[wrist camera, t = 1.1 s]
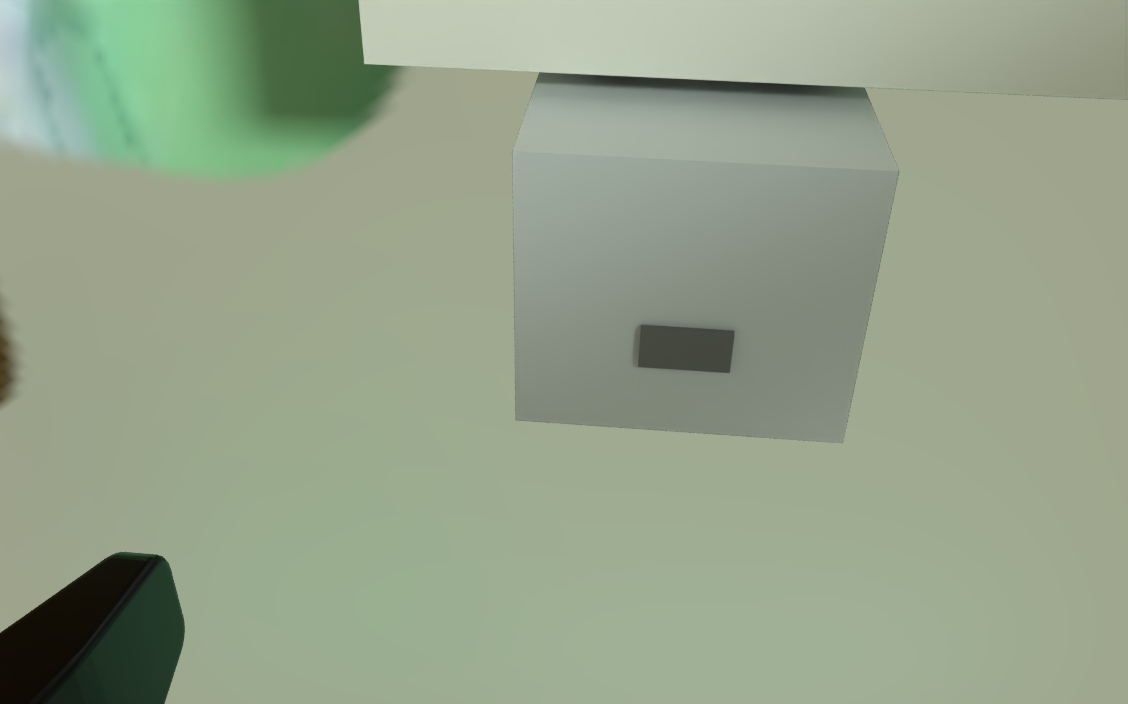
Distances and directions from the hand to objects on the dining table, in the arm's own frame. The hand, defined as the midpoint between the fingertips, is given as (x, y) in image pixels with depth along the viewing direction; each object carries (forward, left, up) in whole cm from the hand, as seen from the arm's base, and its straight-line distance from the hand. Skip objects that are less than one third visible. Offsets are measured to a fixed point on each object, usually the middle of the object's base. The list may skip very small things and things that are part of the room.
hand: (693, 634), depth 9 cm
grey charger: (0, 0, -12) cm, 12 cm away
